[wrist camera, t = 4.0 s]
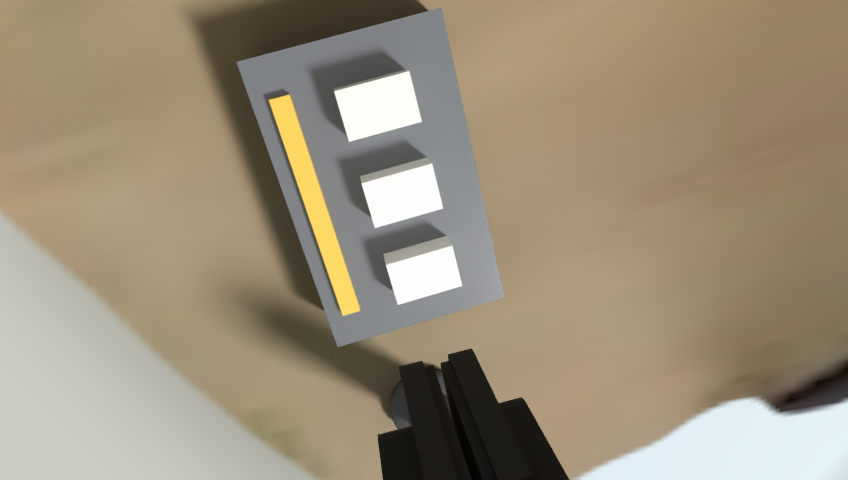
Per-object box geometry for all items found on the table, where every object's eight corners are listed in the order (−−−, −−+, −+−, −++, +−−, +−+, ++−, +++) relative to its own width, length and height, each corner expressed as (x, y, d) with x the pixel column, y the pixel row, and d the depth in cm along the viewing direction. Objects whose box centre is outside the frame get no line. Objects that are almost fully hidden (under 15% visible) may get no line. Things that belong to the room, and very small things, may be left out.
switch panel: (248, 59, 30) (230, 63, 24) (428, 11, 30) (447, 5, 25) (337, 315, 35) (337, 362, 30) (486, 271, 36) (512, 309, 31)
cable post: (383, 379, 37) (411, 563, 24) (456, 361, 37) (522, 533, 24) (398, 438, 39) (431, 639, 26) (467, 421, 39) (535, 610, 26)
